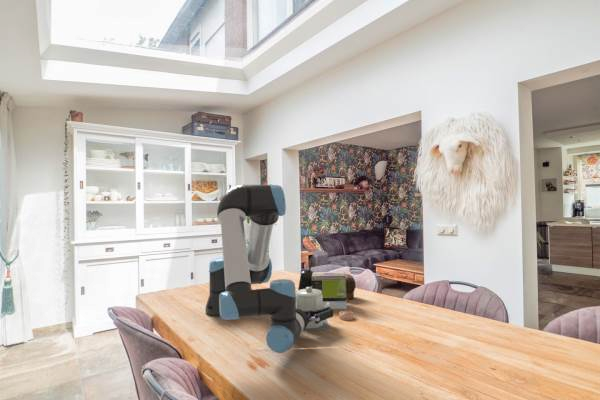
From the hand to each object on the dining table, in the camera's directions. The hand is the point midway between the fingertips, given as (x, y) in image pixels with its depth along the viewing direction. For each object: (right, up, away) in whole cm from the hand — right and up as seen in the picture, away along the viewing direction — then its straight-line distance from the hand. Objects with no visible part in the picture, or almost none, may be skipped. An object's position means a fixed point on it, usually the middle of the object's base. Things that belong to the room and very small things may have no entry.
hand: (311, 304), depth 127 cm
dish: (+14, -7, +4) cm, 16 cm away
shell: (+17, -8, +34) cm, 39 cm away
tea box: (+9, -8, +21) cm, 24 cm away
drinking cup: (-3, -7, +33) cm, 34 cm away
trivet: (-1, -7, -2) cm, 7 cm away
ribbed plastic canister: (-1, -6, -2) cm, 7 cm away
